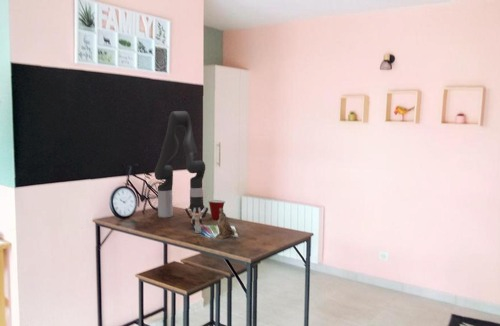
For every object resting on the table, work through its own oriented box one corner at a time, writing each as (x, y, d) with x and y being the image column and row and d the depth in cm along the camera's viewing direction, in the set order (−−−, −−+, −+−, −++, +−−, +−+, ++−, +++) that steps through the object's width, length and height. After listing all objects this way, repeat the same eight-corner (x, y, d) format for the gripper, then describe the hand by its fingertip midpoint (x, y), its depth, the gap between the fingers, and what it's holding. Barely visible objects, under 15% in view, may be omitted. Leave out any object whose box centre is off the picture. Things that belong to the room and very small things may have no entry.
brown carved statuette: (222, 243, 224) (217, 212, 219) (214, 241, 227) (210, 210, 222) (236, 234, 233) (232, 203, 228) (228, 232, 236) (224, 202, 231)
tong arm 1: (193, 225, 252) (193, 218, 252) (195, 224, 253) (195, 218, 252) (195, 232, 235) (195, 225, 234) (198, 232, 235) (198, 225, 235)
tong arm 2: (196, 224, 253) (196, 218, 252) (198, 224, 253) (198, 218, 253) (198, 232, 235) (198, 225, 235) (200, 232, 235) (200, 225, 235)
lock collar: (191, 223, 256) (191, 208, 255) (199, 222, 257) (199, 208, 256) (191, 224, 253) (191, 209, 252) (200, 223, 254) (200, 209, 253)
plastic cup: (228, 218, 270) (228, 200, 269) (216, 221, 262) (216, 202, 261) (217, 216, 277) (217, 198, 276) (204, 219, 269) (204, 200, 268)
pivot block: (193, 223, 257) (193, 215, 256) (198, 223, 257) (197, 215, 257) (193, 225, 253) (193, 216, 253) (198, 224, 254) (198, 216, 253)
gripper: (208, 194, 248) (208, 223, 250) (183, 194, 246) (184, 224, 247) (209, 196, 241) (209, 226, 242) (184, 196, 238) (185, 227, 240)
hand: (197, 225), depth 245 cm, fingers closed
